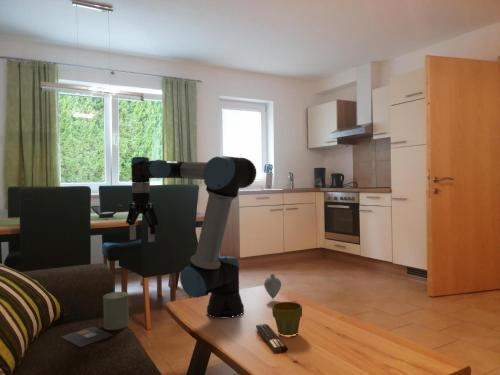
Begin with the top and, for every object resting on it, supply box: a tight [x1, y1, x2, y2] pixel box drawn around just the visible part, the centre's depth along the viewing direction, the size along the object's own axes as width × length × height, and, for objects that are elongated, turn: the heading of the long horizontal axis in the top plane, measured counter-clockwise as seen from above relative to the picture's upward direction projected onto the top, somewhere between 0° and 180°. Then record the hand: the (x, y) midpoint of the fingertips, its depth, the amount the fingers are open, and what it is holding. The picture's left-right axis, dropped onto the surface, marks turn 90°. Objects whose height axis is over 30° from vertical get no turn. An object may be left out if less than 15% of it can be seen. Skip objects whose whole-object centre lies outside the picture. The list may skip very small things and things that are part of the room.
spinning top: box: [264, 273, 282, 299], centre depth 168 cm, size 8×8×12 cm
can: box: [102, 291, 130, 331], centre depth 142 cm, size 9×9×12 cm
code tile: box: [60, 326, 114, 348], centre depth 132 cm, size 14×12×1 cm
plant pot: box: [271, 301, 303, 335], centre depth 130 cm, size 10×10×10 cm
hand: (142, 240), depth 164 cm, fingers open, 13 cm apart
